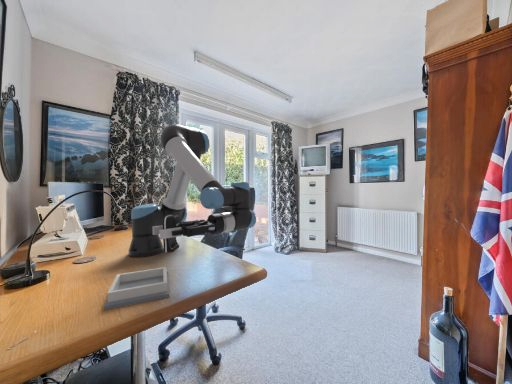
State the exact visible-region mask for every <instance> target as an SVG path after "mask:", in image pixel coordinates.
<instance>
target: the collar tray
mask: <svg viewBox="0 0 512 384" xmlns="http://www.w3.org/2000/svg"><path fill="white" fill-rule="evenodd" d="M169 283H170V282H169V272H168V271H167V266H163V267H156V268H151V269H145V270H137V271H132V272H131V271H130V272H125V273H124V272H123V273H118V274H116V276H115V277H114V280H113V282H112V284H111V285H110V287H109V290H108V291H107V299H106V300H105V304H104V305H103V311H107V310H112V309H117V308H123V307H127V306H132V305H137V304H140V303H146V302H151V301H156V300H161V299H165V298H170V284H169Z"/></svg>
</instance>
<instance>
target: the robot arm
mask: <svg viewBox="0 0 512 384" xmlns="http://www.w3.org/2000/svg"><path fill="white" fill-rule="evenodd" d="M160 145H161V147H162V149H163V150H164V152H165V153H166V154H167V155H168V156H170V157H173V159H174V160H175V162H176V163H175V166H174V171H173V174H172V178H171V180H170V184H169V188H168V191H167V195H166V198H163V199H162V201H161V205H158V203H148V204H147V203H145V204H140V205H137V206H135V207H134V206H133V208H132V209H131V213H130V215H131V216H130V219H131V220H130V221H131V235H132V236H131V237H132V238H131V242H130V245H129V249H128V256H129V257H134V258H142V257H149V256H153V255H154V256H155V255H158V254H159V253H162V252H164V246H163V241H162V240H163V239H166V238H172V237H176V238H177V237H181V236H183V237H185V236H186V237H189V238H190V237H194V236H198V235H204V234H208V233H209V234H210V235H220V234H223V233H225V234H229V232H234V231H241V230H247V229H250V228H253V227H254V226H255V225H256V223H257V216H256V213H255V211H253V210H251V206H250V205H251V204H250V200H251V199H250V198H251V197H250V195H251V194H250V193H251V191H250V183H249V182H247V181H232V182H231V183H230V186H222V184H221V183H220V182H219V181H218V180H217V178H215V176H214V175H213V174H212V173H211V172H210V170H209V169H208V168H207V167H206V166H205V165H204V163H203V162H202V161H201V157H202V156H203V155H205V154H207V153H208V151H209V148H210V139H209V136H208V135H207V133H206V132H205V131H203V130H201V129H198V128H195V127H191V126H190V127H189V126H184V125H181V124H176V123H175V124H169V125H168V126H166V127H165V128H164V129H163V130H162V131H161V134H160ZM190 181H191V182H192V184H193V185H194V186H195V188H196V189H197V190H198V191H199V193H200V194H199V200H200V204H201V206H202V207H203V208H205V209H207V210H219V209H221V208H228V207H231V208H230V209H231V211H228V212H220V213H211V214H209V215H208V216H207V218H206V219H207V220H206V219H200V220H199V219H195V220H187V217H188V212H187V211H188V210H187V207H186V204H185V203H184V201H185V198H186V194H187V191H188V188H189V184H190ZM168 215H178V216H179V217H180V221H181V227H177V228H170V229H163V218H164V217H166V216H168ZM186 220H187V221H186Z"/></svg>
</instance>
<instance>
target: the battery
mask: <svg viewBox="0 0 512 384" xmlns="http://www.w3.org/2000/svg"><path fill="white" fill-rule="evenodd" d="M177 227H181V221H180V217H179V216H178V215H168V216H166V217H164V218H163V229H170V228H177ZM162 240H163V241H162V245H163V253H167V254H168V253H174V252H175V251H177V250H178V249H179V248H180V245H179V243H178V241H177V237H172V238H166V239H162Z"/></svg>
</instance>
